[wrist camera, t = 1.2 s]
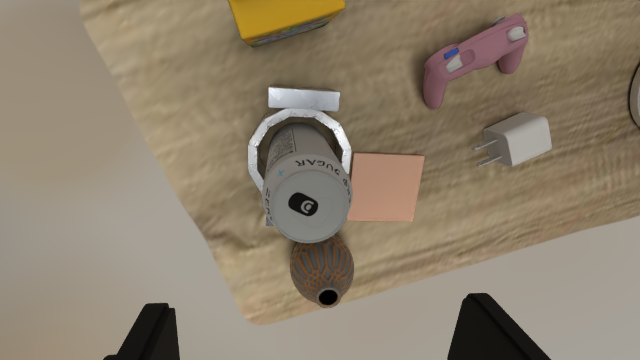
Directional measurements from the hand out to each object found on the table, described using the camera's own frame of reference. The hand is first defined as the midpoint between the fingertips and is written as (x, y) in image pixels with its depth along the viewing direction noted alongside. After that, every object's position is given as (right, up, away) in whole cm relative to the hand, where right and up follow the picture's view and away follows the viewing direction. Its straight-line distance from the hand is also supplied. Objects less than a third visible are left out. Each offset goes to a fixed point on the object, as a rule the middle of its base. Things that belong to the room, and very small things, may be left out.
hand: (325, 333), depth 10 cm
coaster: (+7, +4, +26) cm, 27 cm away
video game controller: (+14, +17, +22) cm, 31 cm away
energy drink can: (-2, +8, +23) cm, 25 cm away
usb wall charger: (+20, +10, +26) cm, 33 cm away
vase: (0, -3, +27) cm, 28 cm away
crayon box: (-3, +20, +19) cm, 28 cm away
